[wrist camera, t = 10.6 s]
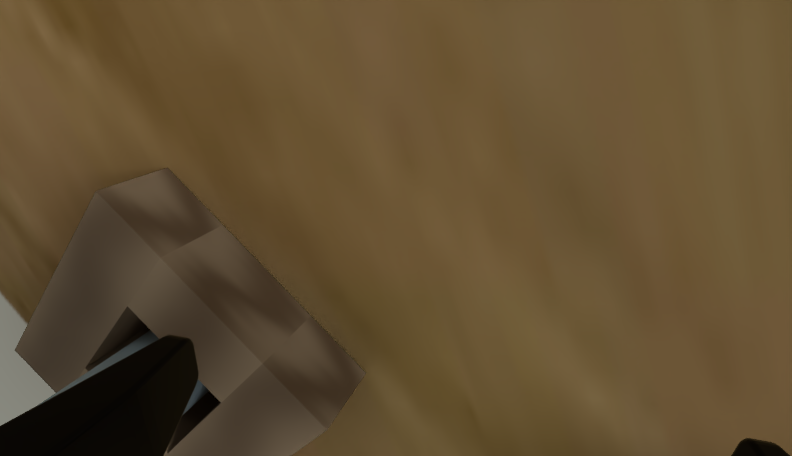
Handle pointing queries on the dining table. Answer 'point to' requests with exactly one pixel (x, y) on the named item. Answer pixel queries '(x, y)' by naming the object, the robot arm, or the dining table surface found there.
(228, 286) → the socket block
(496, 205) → the dining table surface
